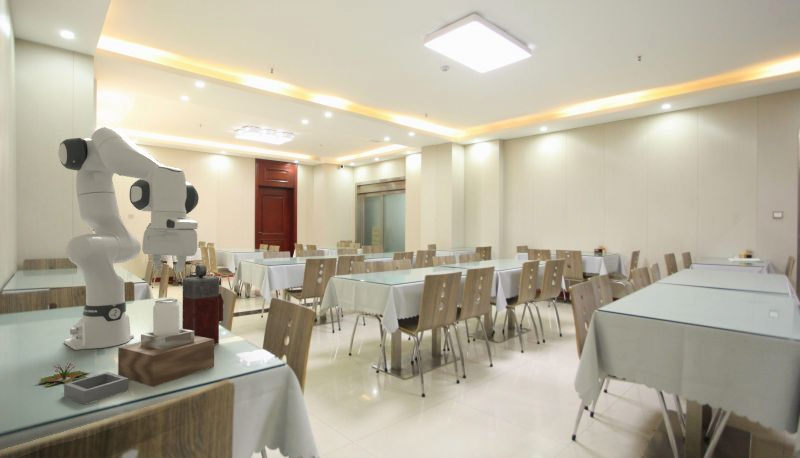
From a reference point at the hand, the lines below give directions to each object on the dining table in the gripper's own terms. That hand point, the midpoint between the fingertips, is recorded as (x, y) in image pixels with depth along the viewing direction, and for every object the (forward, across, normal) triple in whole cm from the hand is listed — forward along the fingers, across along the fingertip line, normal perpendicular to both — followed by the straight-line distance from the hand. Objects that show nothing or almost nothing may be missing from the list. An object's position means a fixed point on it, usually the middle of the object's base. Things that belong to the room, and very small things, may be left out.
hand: (168, 271), depth 117 cm
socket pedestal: (+28, 0, 0) cm, 29 cm away
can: (+21, 0, 0) cm, 21 cm away
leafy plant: (+29, -18, -17) cm, 39 cm away
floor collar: (+29, 0, -18) cm, 34 cm away
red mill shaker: (+29, -17, +24) cm, 41 cm away
